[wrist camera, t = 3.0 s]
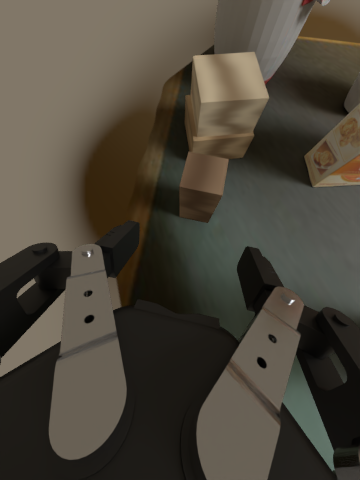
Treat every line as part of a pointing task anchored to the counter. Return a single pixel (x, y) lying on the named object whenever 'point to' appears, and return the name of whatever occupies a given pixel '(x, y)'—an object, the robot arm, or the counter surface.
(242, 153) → the block bottom
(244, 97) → the block top
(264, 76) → the citrus juicer
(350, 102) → the soap bottle
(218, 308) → the counter surface
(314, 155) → the coffeecake box
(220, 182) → the walnut post
